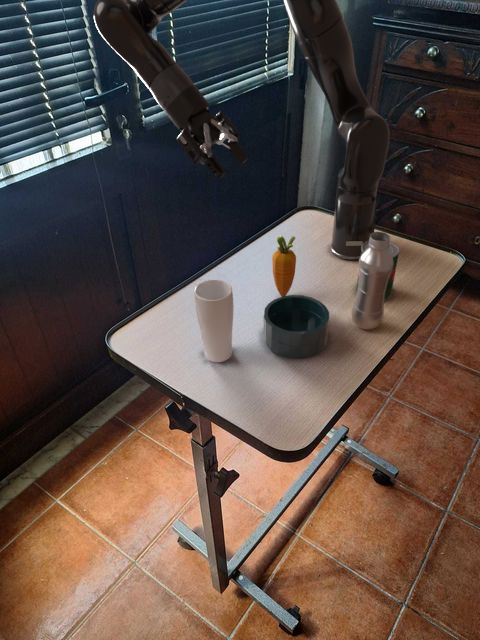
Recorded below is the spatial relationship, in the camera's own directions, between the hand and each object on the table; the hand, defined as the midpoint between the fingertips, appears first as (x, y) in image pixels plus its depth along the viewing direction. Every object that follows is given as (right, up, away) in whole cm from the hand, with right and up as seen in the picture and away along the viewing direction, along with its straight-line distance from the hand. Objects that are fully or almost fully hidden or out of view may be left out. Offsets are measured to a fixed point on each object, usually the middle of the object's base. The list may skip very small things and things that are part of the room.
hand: (233, 168), depth 101 cm
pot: (+12, -33, +2) cm, 35 cm away
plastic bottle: (+27, -30, +6) cm, 41 cm away
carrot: (+10, -24, +13) cm, 29 cm away
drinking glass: (-3, -37, -1) cm, 37 cm away
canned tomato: (+30, -23, +15) cm, 41 cm away
